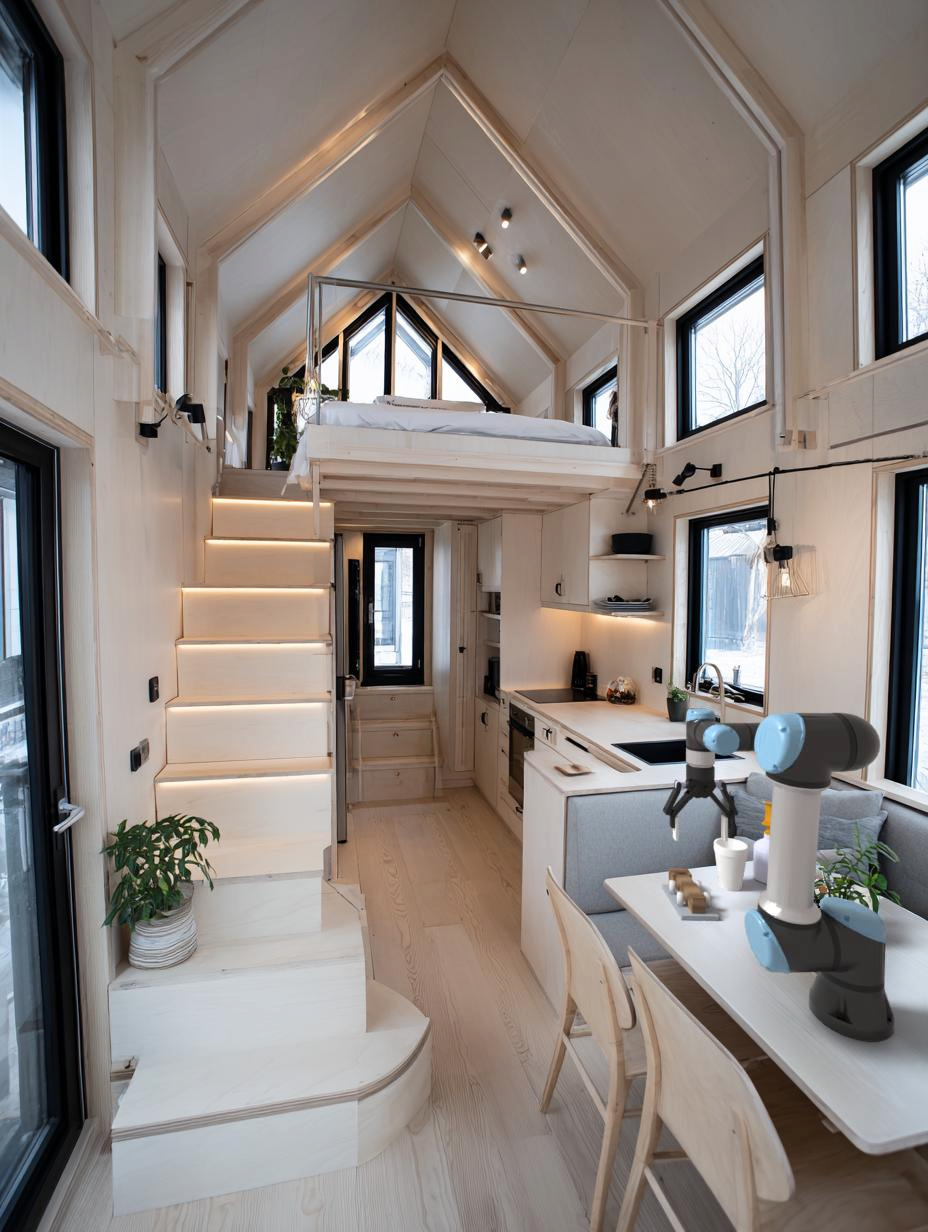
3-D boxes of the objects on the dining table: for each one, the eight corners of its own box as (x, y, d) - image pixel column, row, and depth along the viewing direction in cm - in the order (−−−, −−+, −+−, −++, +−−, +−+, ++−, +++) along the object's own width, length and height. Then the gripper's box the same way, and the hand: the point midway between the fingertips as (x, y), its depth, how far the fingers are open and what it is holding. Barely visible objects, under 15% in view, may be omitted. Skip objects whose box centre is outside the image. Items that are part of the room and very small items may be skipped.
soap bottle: (749, 880, 189) (750, 801, 188) (757, 869, 196) (759, 794, 195) (781, 889, 183) (782, 808, 182) (788, 878, 190) (790, 800, 189)
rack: (719, 920, 165) (719, 903, 165) (681, 920, 165) (682, 902, 165) (695, 888, 183) (696, 873, 183) (662, 888, 183) (662, 872, 183)
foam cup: (747, 882, 187) (747, 840, 187) (747, 896, 179) (748, 852, 178) (713, 876, 191) (714, 835, 190) (712, 889, 182) (713, 847, 182)
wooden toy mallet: (709, 914, 166) (709, 898, 166) (688, 913, 166) (688, 897, 166) (687, 882, 184) (687, 868, 184) (668, 882, 184) (668, 868, 184)
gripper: (739, 761, 174) (738, 834, 174) (651, 760, 175) (651, 834, 175) (751, 767, 167) (750, 844, 167) (659, 767, 167) (659, 844, 167)
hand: (700, 839), depth 171 cm, fingers open, 13 cm apart
